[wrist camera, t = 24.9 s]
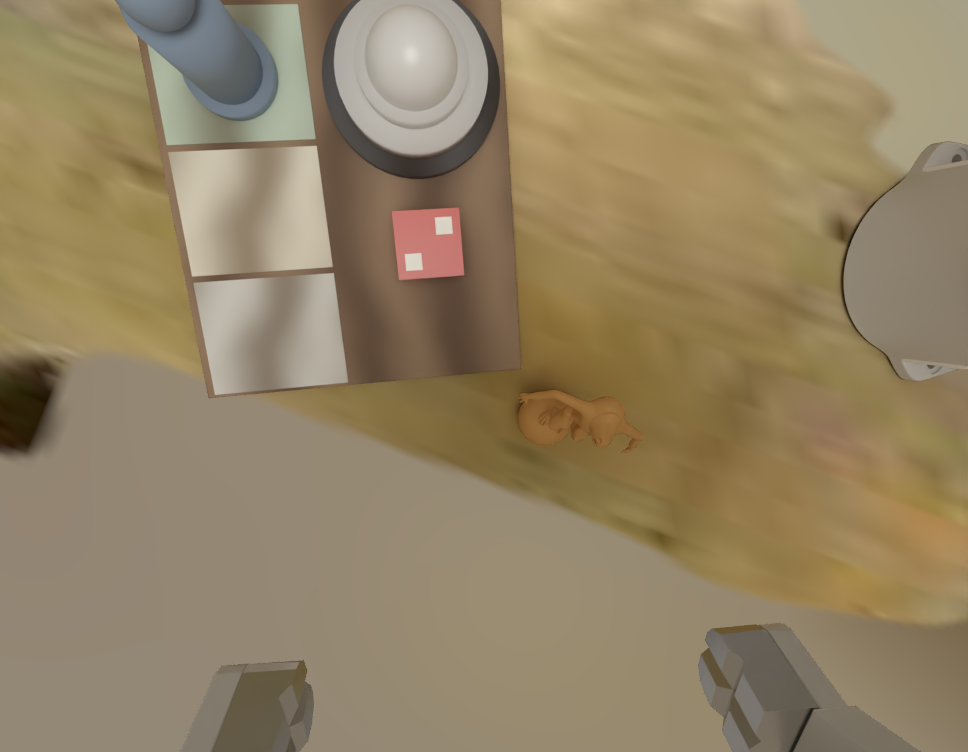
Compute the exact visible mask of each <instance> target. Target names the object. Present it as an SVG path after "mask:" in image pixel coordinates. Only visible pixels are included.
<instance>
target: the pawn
mask: <svg viewBox="0 0 968 752" xmlns="http://www.w3.org/2000/svg"><path fill="white" fill-rule="evenodd" d="M115 1H116V2H117V4H118V5H119V7H120V10H121V12H122V15H123V17H124V19H125V21H126V22H127V24H128V25H129V27H130V28H131V29H132V30H133V32H134V33H135V34H136V35H138V36H139V37H140V38H141V39H142V40H143V41H144V42H146V43H147V44H148V45H149V46H150V47H151V48H153V49H154V50H155V51H156V52H157V53H158V54H160V55H161V56H162V57H163V58H164V59H165V60H167V61H168V62H169V63H170V64H171V65H172V66H174V67H175V68H176V69H177V70H178V71H179V72H181V73H182V75H183V78H184V81H185V83H186V85H187V87H188V89H189V90H190V92H191V93H192V94H193V96H194V97H195V98H196V99H197V100H198V101H199V102H200V103H201V104H203V105H204V106H205V107H207V108H208V109H209V110H210V111H212V112H213V113H215V114H216V115H218V116H220V117H222V118H225V119H228V120H233V121H247V120H251V119H254V118H257V117H258V116H260V115H262V114H263V113H264V112H266V111H267V109H268V108H269V107H270V106H271V104H272V103H273V101H274V99H275V97H276V94H277V89H278V73H277V68H276V65H275V62H274V60H273V57H272V56H271V54H270V52H269V51H268V49H267V48H266V46H265V45H264V43H263V42H262V41H261V39H260V38H259V37H258V36H257V35H256V34H255V33H254V32H253V31H252V30H251V29H249V28H248V27H246V26H245V25H243V24H241V23H239V22H236V21H235V20H234V19H233V18H232V16H231V15H230V13H229V12H228V11H227V9H226V8H225V6H224V5H223V4H222V2H221V1H220V0H115Z"/></svg>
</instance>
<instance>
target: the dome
mask: <svg viewBox="0 0 968 752" xmlns="http://www.w3.org/2000/svg"><path fill="white" fill-rule="evenodd" d="M334 73H335V78H336V84H337V87H338V90H339V94H340V96H341V99H342V101H343V103H344V105H345V107H346V110H347V112H348V114H349V116H350V117H351V119H352V121H353V122H354V124H355V125H356V127H357V128H358V129H359V130H360V132H361V133H362V134H363V135H364V136H365V137H366V138H367V139H368V140H370V141H371V142H372V143H373V144H375V145H376V146H378V147H379V148H381V149H382V150H384V151H386V152H389V153H391V154H393V155H397V156H400V157H405V158H411V159H422V158H430V157H434V156H438V155H440V154H443V153H445V152H447V151H449V150H450V149H452V148H454V147H455V146H456V145H458V144H459V143H460V142H461V141H462V140H463V139H464V138H465V137H466V136H467V135H468V134H469V132H470V131H471V130H472V128H473V127H474V125H475V123H476V121H477V119H478V117H479V114H480V111H481V109H482V106H483V103H484V99H485V95H486V91H487V83H488V66H487V58H486V54H485V49H484V46H483V43H482V41H481V38H480V36H479V34H478V32H477V30H476V28H475V26H474V24H473V23H472V21H471V20H470V18H469V17H468V16H467V15H466V13H465V12H464V11H463V10H462V9H461V8H460V7H459V6H458V5H457V4H456V3H455V2H454V1H452V0H360V1H359V2H358V3H357V4H356V5H355V6H354V7H353V8H352V9H351V11H350V12H349V14H348V15H347V17H346V18H345V20H344V22H343V24H342V26H341V28H340V30H339V34H338V37H337V40H336V45H335V50H334Z"/></svg>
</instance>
